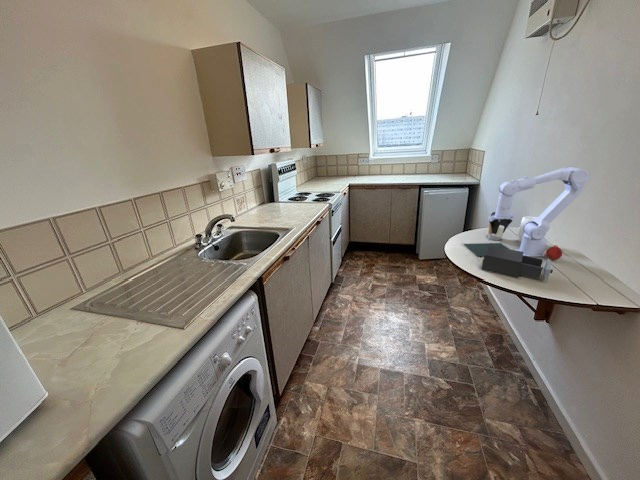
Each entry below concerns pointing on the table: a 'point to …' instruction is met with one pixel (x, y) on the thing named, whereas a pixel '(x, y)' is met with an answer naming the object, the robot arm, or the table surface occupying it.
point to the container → (499, 231)
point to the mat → (482, 248)
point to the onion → (554, 253)
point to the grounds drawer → (535, 268)
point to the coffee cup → (491, 231)
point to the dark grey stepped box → (502, 261)
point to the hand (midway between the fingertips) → (497, 232)
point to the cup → (523, 222)
